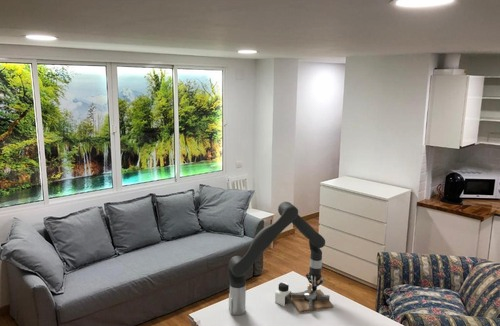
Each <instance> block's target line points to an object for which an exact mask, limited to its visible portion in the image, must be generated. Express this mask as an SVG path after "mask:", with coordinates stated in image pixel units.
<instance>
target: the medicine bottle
mask: <svg viewBox="0 0 500 326" xmlns="http://www.w3.org/2000/svg"><path fill="white" fill-rule="evenodd" d="M277 289H278V290H276V291H275V292H274V295H275V296H274V302H275V303H276V304H278V305H280V306H282V307H286V306H287V305H288V304H289V303H291V293H292V291H291V290H289V283H287V282H284V281H283V282H279V283H278V288H277Z"/></svg>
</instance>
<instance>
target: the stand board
mask: <svg viewBox="0 0 500 326" xmlns="http://www.w3.org/2000/svg"><path fill="white" fill-rule="evenodd" d="M315 292H316V293H317V295H325V294H324V292H323V291H322V290H321V289H317V290H316V291H315ZM297 293H304V291H299V292H297ZM290 303H292V305H293V307H294V308H295V310H296V311H297V313H298V314H301V313H302V314H304V313H308V312H314V311H320V310H326V309H327V310H328V309H333V308H334V305H333V303H332V302H331V301H330V300H329V301H327V300H317V299H316V301H313V302H312V305H313V308H312V310H311V309H309V301H306V300H304V299H302V298H291V301H290Z"/></svg>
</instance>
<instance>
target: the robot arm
mask: <svg viewBox="0 0 500 326" xmlns="http://www.w3.org/2000/svg"><path fill="white" fill-rule="evenodd" d="M277 211H278V214H279V215H280V217H279V218H278V219H277V220H276V221H275V222H274V223H272V224H270V225H267V226H265V227H263V228H262V229H260V230H259V232H257V234H256V235H254V237H253V239H252V241H251V242H250V246H249V248H248V250H247V252H246V253H245V254H244V255H243V256H240V255H234V256H232V257H231V258H230V260H229V261H228V279H229V294H228V310H229V312H230V315H231V316H232V315H233V316H241V315H242V316H243V314H245V313H246V299H247V298H246V294H247V293H246V292H247V291H246V289H247V284H246V283H247V280H246V279H247V278H246V276H245V275H247V272H248V271H249V270H250V269H251V268H252V266H253V265H254V263H255V262H256V261H257V259H259V257H260V256H261V255H263V253H264V252H265V251H266V249H267V248H269V247H270V245H271V244H272V243H273V242H274V241H275V239H277V238H278V237H279V235H280V234H281V233H282V232H283V231H284V230H285V229H286V228H288V226H290V225H291V224H292V225H293V226H294V227H295V228H296V229H297V230H298V231H299V233H301V234H302V236H304V238H306V239H307V240H308V245H309V250H310V259H309V267H308V268H309V269H308V271H309V272H308V273H306V274H305V276H306V279H307V281H308V284H311V285H312V290H313V291H316V290H318V287H319V286H320V285H322V284H323V283H324V282H325V279H323V278H322V270H323V268H322V266H323V251H322V248H324V247H325V245H326V239H325V238H324V237H323V235H321V234H320V233H319V232H317V231H316V230H315V229H314V228H313V227H312V225H310V224H309V222H307V221H306V220H305V219H304V218H303V217H302V216H300V214H299V209H298V207H296V206H295V205H294V204H293V203H291V202H289V201H283V202H281V203H280V204H279V205H278V207H277Z"/></svg>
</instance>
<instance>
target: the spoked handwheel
mask: <svg viewBox="0 0 500 326" xmlns="http://www.w3.org/2000/svg"><path fill="white" fill-rule="evenodd" d="M306 288H307V290H304V291H303V292H304V293H298V292H291V298H302V299H304V300H306V301H309V309H311V310H312V308H313V305H312V302H313V301H316V299H317V300H327V301H330V298H331V297H330V295H329V294H328V295H326V294H324V295H317V293H316V292H315V291H313V290H312V284H311V283H308V284H307V287H306Z"/></svg>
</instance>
